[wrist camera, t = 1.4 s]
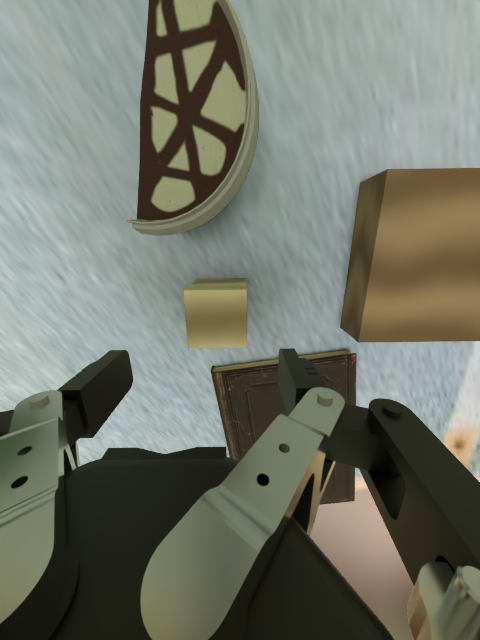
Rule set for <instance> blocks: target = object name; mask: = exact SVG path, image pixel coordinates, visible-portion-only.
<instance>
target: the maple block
mask: <svg viewBox="0 0 480 640" xmlns="http://www.w3.org/2000/svg"><path fill="white" fill-rule="evenodd" d="M183 295H184V306H185V317H186V327H187V338H188V348H247V287H246V280H245V278H230V279H196V280H195V281H194V282H192V283H191V284H190V285H189V286H188V287H187V288H185V289H184V290H183Z"/></svg>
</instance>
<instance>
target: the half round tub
mask: <svg viewBox="0 0 480 640" xmlns="http://www.w3.org/2000/svg"><path fill="white" fill-rule="evenodd" d="M258 128H259V99H258V91H257V84H256V78H255V73H254V69H253V64H252V60H251V56H250V53H249V49H248V45H247V41H246V37H245V35H244V32H243V30H242V27H241V25H240V22H239V20H238V17H237V15H236V13H235V11H234V9H233V7H232V6H231V4H230V2H229V0H149V10H148V26H147V40H146V52H145V62H144V71H143V79H142V90H141V100H140V170H139V189H138V208H137V219H138V220H127V222H129V223H133V224H132V228H134V229H135V230H137V231H138V232H140V233H142V234H150V235H172V234H177V233H182V232H186V231H189V230H191V229H194V228H196V227H199V226H201V225H202V224H204V223H206V222H207V221H209V220H211V219H212V218H214V217H215V216H216V215H217V214H218V213H219V212H220V211H222V210H223V209H224V208H225V207H226V206H227V205H228V203H229V202H230V201H231V200H232V198H233V197H234V196H235V195H236V193H237V192H238V190H239V188H240V187H241V185H242V183H243V182H244V180H245V178H246V175H247V173H248V170H249V168H250V165H251V163H252V159H253V156H254V152H255V148H256V144H257V136H258Z"/></svg>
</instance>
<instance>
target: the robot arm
mask: <svg viewBox="0 0 480 640" xmlns="http://www.w3.org/2000/svg"><path fill="white" fill-rule="evenodd" d="M132 383H133V375H132V369H131V364H130V358H129V354H128V352H127V351H126V350H111V351H109V352H108V353H106V354H105V355H104V356H103V357H102V358H100V359H99V360H98V361H96V362H94V363H92V364H90V365H88V366H87V367H86V368H84V369H83V370H82V372H79V373H78V374H77V375H76V377H73V378H72V379H71V380H69V381H68V382H67V383H65V384H64V385H63V386H62V387H60V388H59V389H58V390H50V391H44V392H40V393H37V394H35V395H32V396H30V397H28V398H26V399H24V400H23V401H21V402H20V403H19V404H18V405H17V406H16V407H15V410H9V411H4V412H0V640H394V639H393V637H392V636H391V634H390V633H389V631H388V630H387V629H386V627H385V626H384V625H383V623H382V622H381V621H380V620H379V619H378V617H377V616H376V615H375V614H374V613H373V611H372V610H371V609H370V608H369V607H368V606H367V604H366V603H365V602H364V601H363V600H362V598H361V597H360V596H359V595H358V594H357V592H356V591H355V590H354V589H353V588H352V586H351V585H350V584H349V583H348V582H347V580H346V579H345V578H344V577H343V576H342V575H341V573H340V572H339V571H338V570H337V569H336V567H335V566H334V565H333V564H332V563H331V561H330V560H329V559H328V558H327V557H326V556H325V554H324V553H323V552H322V551H321V550H320V548H319V547H318V546H317V545H316V544H315V543H314V541H313V540H312V539H311V538H310V534H311V530H312V528H313V524H314V522H315V518H316V514H317V510H318V506H319V503H320V500H321V498H322V495H323V493H324V490H325V488H326V485H327V483H328V480H329V477H330V475H331V472H332V470H333V467H334V465H335V462H338V463H342V464H346V465H349V466H353V467H356V468H359V469H360V471H361V474H362V476H363V478H364V480H365V482H366V484H367V486H368V489H369V491H370V493H371V495H372V497H373V499H374V501H375V503H376V506H377V508H378V510H379V512H380V514H381V516H382V518H383V521H384V522H385V525H386V527H387V529H388V531H389V533H390V535H391V538H392V540H393V542H394V544H395V546H396V548H397V550H398V552H399V555H400V557H401V559H402V561H403V563H404V565H405V567H406V570H407V572H408V574H409V576H410V578H411V580H412V582H413V585H414V588H413V591H412V593H411V596H410V598H409V601H408V606H407V615H408V621H409V626H410V629H411V632H412V636H413V638H414V640H480V482H479V481H478V480H477V479H476V478H475V477H474V476H473V475H472V474H471V473H470V472H469V471H468V470H467V469H466V468H465V466H464V465H463V464H462V463H461V462H460V461H459V460H458V459H457V458H456V457H455V456H454V455H453V454H452V453H451V452H450V451H449V450H448V449H447V448H446V446H445V445H444V444H443V443H442V442H441V441H440V440H439V439H438V438H437V437H436V436H435V435H434V434H433V433H432V432H431V431H430V430H429V429H428V428H427V426H426V425H425V424H424V423H423V422H422V421H421V420H420V419H419V418H418V417H417V416H416V415H415V414H414V413H413V412H412V411H411V410H410V409H409V408H407V407H406V406H404V405H403V404H401V403H398V402H396V401H393V400H389V399H382V398H381V399H374V400H372V401H371V402H370V404H369V409H368V408H363V407H358V406H353V405H349V404H346V403H345V401H344V398H343V397H342V396H341V395H340V394H339V393H337V392H336V391H334V390H331V389H328V388H327V386H326V385H325V383H324V381H323V380H322V378H321V377H320V375H319V374H318V372H317V370H316V369H315V367H314V365H313V364H312V362H310V361H309V360H308V359H306V358H299V357H298V355H297V353H296V351H295V349H280V350H279V363H278V385H279V389H280V393H281V396H282V400H283V404H284V407H285V411H286V414H287V416H286V415H284V414H280V415H278V416H277V417H276V419H275V420H274V421H273V422H272V423H271V425H270V426H269V427H268V428H267V429H266V431H265V432H264V433H263V434H262V435H261V437H260V438H259V439H258V440H257V441H256V443H255V444H254V445H253V446H252V447H251V449H250V450H249V451H248V452H247V453H246V455H245V456H244V457H243V458H242V459H241V461H240V462H239V461H237V460H235V459H232V458H228V457H226V447H196V448H191V449H187V450H182V451H178V452H174V453H169V454H161V453H156V452H152V451H148V450H144V449H140V448H108V449H107V451H106V452H105V454H104V456H103V457H102V459H99V460H95V461H92V462H89V463H87V464H84V465H82V466H80V462H79V452H78V446H77V443H76V441H77V440H78V439H79V438H93V437H94V436H95V434H96V433H97V432H98V430H99V429H100V428H101V426H102V425H103V424H104V422H105V421H106V420H107V419H108V417H109V416H110V415H111V413H112V412H113V411H114V409H115V408H116V407H117V405H118V404H119V403H120V401H121V400H122V399H123V398H124V396H125V395H126V394H127V392H128V391H129V390H130V388H131V386H132Z"/></svg>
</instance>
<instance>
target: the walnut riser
mask: <svg viewBox="0 0 480 640" xmlns="http://www.w3.org/2000/svg"><path fill="white" fill-rule="evenodd" d="M341 328H342V329H343V330H344V331H345V332H347V333H348V334H349V335H350V336H351V337H353V338H354V339H355V340H356V341H357V342H427V341H480V168H451V169H387V170H385V171H383V172H381V173H379V174H377V175H375V176H373V177H371V178H369V179H367V180H365V181H363V182H361V183H360V190H359V198H358V205H357V212H356V219H355V226H354V234H353V241H352V248H351V255H350V262H349V269H348V277H347V284H346V291H345V298H344V305H343V313H342V320H341Z"/></svg>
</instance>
